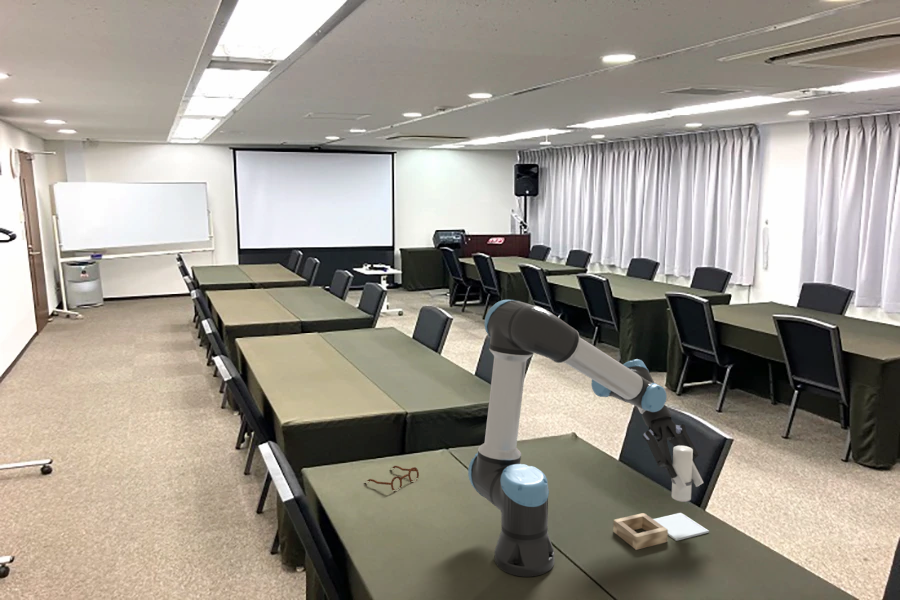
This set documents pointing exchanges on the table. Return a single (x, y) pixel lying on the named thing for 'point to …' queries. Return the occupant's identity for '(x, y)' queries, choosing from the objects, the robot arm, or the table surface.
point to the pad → (681, 526)
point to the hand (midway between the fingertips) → (691, 486)
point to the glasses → (398, 477)
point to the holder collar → (644, 539)
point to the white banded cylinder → (683, 472)
